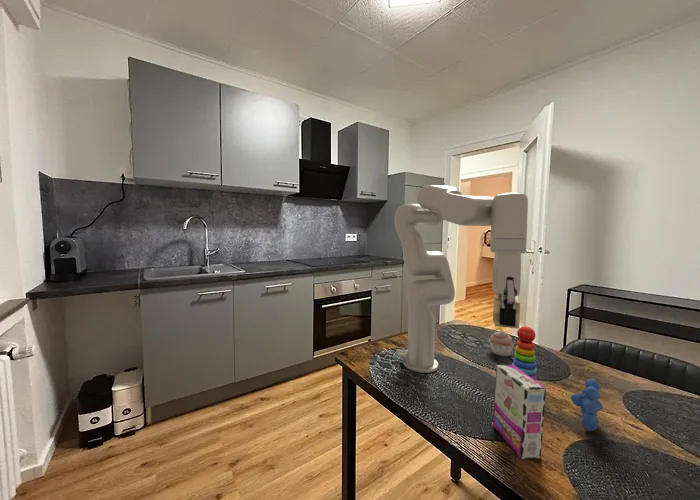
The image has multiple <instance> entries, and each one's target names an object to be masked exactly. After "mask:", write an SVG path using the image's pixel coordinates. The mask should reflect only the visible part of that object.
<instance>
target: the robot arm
mask: <svg viewBox="0 0 700 500" xmlns="http://www.w3.org/2000/svg"><path fill="white" fill-rule="evenodd" d="M528 199H529V198H528V196H527V195H526V194H524V193H521V192H520V193H519V192H505V193H499V194H496V195H494V196H479V195H478V196H476V195H474V196H473V195H463V193H462V192H461V191H460V190H458V189H457V188H456V187H454V186H450V185H437V184H428V185H425V186H423V187H421V189H419V191H418V192H417V195H416V200H417V203H406V204H402V205H400V206H398V207H397V209H396V211H395V213H394V228H395V232H396V233H397V235H398V239H399V241H400V244H401V248H402V255H403V259H404V263H405V264H404V265H405V269H406V272H407V275H408V276H410V277H413V278H415V277H416V278H417V277H419V278H421V277H422V278H423V277H431V278H432V279H431V278H428V279H425V278H424V279H417V280H414V281H413V280H412V281H411V282H410V283H408V285H407V286H406V299H407V306H408V309H407V310H408V321H407V322H408V329H407V330H408V331H407V333H408V334H407V349H405V350H403V349H399V348H397V349H396V351H395V354H396V355H397V357H398V358H403V360H402V363H403V365H404V366H405V367H406V368H407V369H408V370H410V371H413V372H416V373H421V374H422V373H424V374H425V373H426V374H427V373H433V372H435V371H437V370H438V369H439V362H438V361H437V359H435V349H436V348H435V344H436V316H435V314H434V312H433V311H432V310H431V307H434V306H435V307H436V306H443V305H449V304H451V303H453V302H454V299H455V295H456V294H455V293H456V292H455V291H456V289H455V285H454V281H453V276H452V271H451V269H450V264H449V261H448V260H449V259H448V258H447V256H445V254H444V253H443V252H441V251H438V250H437V251H436V250H433V251H432V250H431V251H430V250H427V248H426V244H425V243H426V242H425V239H424V238H423V236H422V235H421V233H420V232H419V231H418V230H417V229H416V227H418V228H420V227H422V228H423V227H425V228H426V227H428V228H430V227H431V228H433V227H437V226H439V225H440V224H443V222H444V221H446V222H449V223H452V224H455V225H458V226H465V227H466V226H469V227H470V226H471V227H472V226H474V227H475V226H476V227H477V226H478V227H480V226H481V227H490V243H489V245H490V251H489V252H490V253H493V254H494V255H493V256H494V257H493V267H492V284H491V286H492V287H491V289H492V291H493V292H494V295H496V296H497V297H501V308H500V325H504V326H515V323H516V309H515V308H516V304H515V298H516V297H518V296H520V294H521V280H522V279H521V277H522V273H521V272H522V271H521V270H522V269H521V268H522V266H521V265H522V255H521V254H526V253H527V240H528V238H527V235H528V209H529V200H528ZM504 298H505V300H504ZM506 298H507V299H506Z"/></svg>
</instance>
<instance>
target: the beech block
mask: <svg viewBox="0 0 700 500" xmlns="http://www.w3.org/2000/svg"><path fill="white" fill-rule="evenodd" d="M506 299H507V298H506ZM504 300H505V298H504ZM515 304H516V308H515V309H516V323H515V326H504V325H500V308H501V297H498V296H493V310H492V314H493V315H492V321H493V324H494V327H502V328H508V329H519V328H520V319H521V318H520V316H521V302H520V301H519V300H518V298H516V297H515Z"/></svg>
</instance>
